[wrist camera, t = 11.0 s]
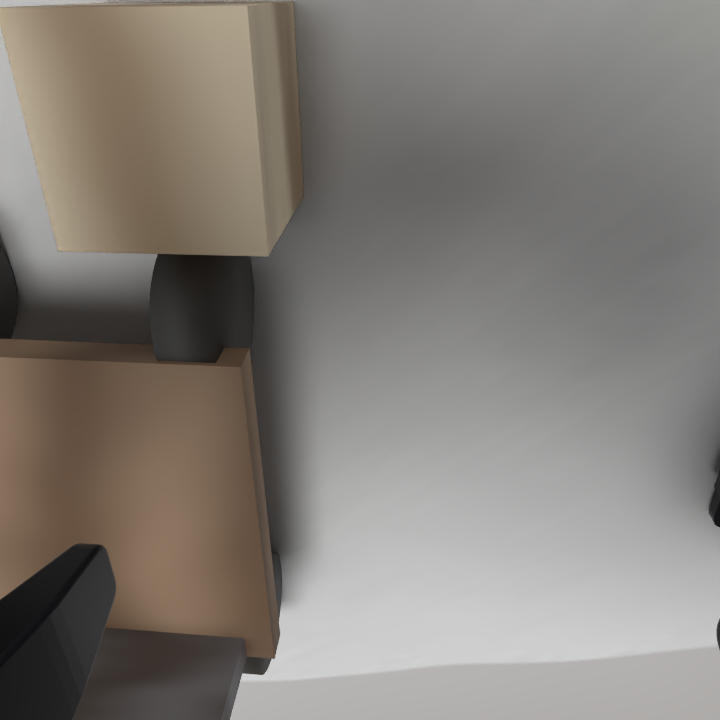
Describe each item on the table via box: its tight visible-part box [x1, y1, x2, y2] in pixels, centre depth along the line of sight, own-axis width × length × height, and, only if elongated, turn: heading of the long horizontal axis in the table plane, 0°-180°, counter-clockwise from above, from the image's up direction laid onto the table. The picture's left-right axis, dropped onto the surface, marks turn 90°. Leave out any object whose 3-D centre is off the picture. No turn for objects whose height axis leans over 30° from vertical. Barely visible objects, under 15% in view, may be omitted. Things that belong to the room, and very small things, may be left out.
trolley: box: [0, 247, 282, 720], centre depth 20 cm, size 11×17×8 cm, turn 0°
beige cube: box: [0, 2, 304, 257], centre depth 16 cm, size 5×5×5 cm
